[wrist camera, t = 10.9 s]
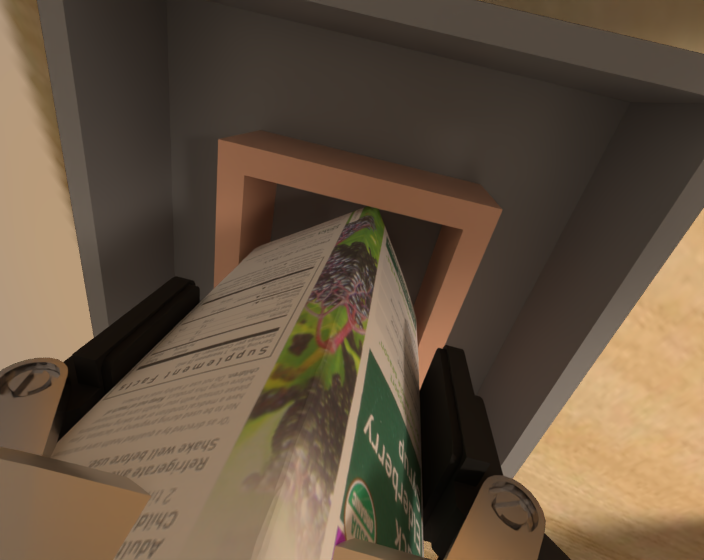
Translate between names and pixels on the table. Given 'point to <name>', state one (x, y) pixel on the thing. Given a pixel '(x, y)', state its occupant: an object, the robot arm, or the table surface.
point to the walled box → (387, 165)
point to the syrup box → (275, 409)
